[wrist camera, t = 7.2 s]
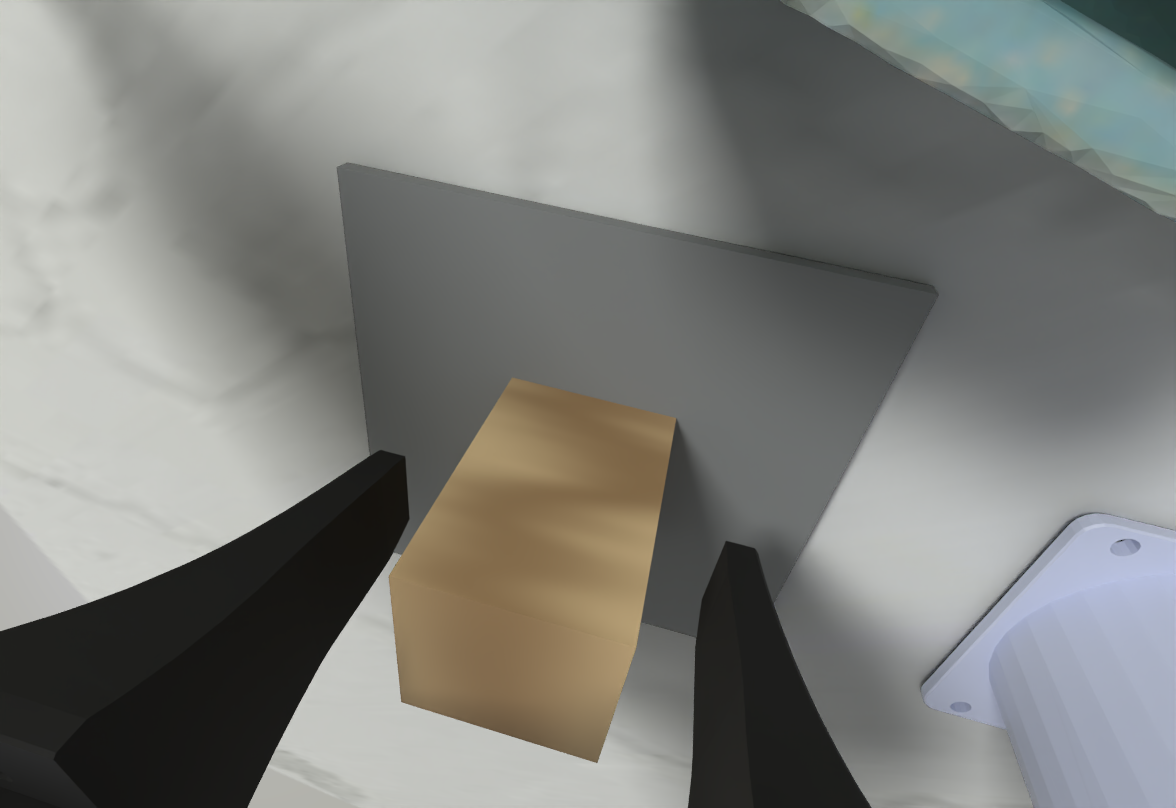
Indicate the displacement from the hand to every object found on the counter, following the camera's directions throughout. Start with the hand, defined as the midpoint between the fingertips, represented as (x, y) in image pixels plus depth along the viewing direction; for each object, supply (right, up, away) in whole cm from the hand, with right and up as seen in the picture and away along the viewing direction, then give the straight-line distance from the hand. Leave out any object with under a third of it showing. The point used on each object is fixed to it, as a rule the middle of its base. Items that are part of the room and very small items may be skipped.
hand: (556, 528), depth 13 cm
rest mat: (+1, +2, +2) cm, 3 cm away
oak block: (+1, +1, +2) cm, 3 cm away
